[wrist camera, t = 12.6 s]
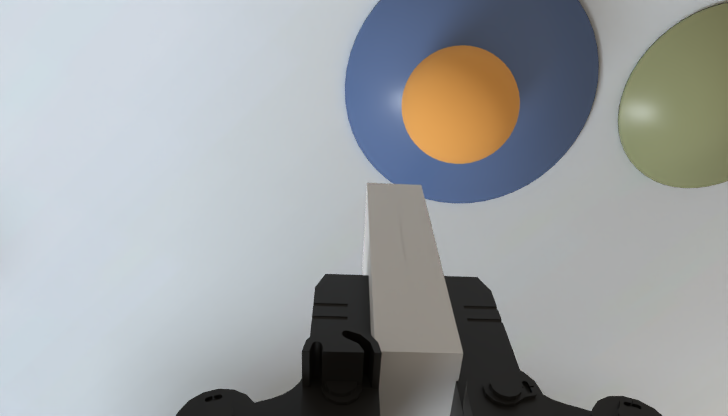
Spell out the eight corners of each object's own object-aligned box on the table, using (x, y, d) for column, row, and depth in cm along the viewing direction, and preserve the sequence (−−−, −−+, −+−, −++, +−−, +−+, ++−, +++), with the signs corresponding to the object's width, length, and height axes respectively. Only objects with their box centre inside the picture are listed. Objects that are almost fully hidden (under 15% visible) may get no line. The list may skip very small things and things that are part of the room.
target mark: (565, 205, 32) (566, 207, 31) (341, 197, 31) (341, 199, 31) (627, -40, 26) (629, -40, 25) (349, -55, 25) (349, -55, 25)
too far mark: (768, 189, 31) (770, 191, 31) (597, 183, 31) (599, 184, 31) (850, 6, 27) (853, 6, 26) (649, -5, 26) (651, -4, 26)
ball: (416, 129, 30) (516, 146, 29) (382, 170, 26) (498, 194, 24) (425, 27, 28) (537, 40, 26) (388, 54, 23) (520, 72, 21)
